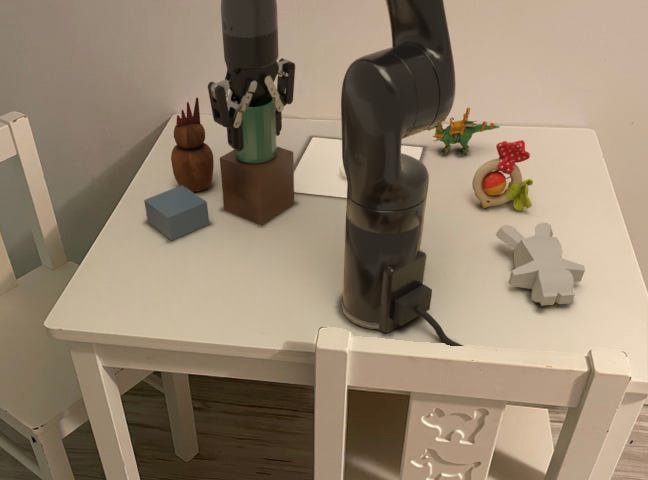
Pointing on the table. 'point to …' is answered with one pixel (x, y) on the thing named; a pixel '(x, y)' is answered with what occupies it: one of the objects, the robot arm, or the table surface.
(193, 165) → the wooden figurine
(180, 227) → the slate block
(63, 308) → the table surface
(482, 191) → the bird rattle
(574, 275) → the bunny figurine
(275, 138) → the cup
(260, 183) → the walnut block
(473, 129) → the figurine
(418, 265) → the robot arm
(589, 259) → the table surface
